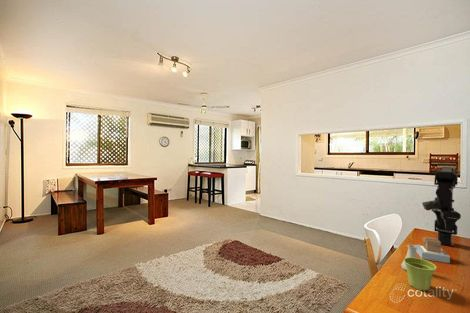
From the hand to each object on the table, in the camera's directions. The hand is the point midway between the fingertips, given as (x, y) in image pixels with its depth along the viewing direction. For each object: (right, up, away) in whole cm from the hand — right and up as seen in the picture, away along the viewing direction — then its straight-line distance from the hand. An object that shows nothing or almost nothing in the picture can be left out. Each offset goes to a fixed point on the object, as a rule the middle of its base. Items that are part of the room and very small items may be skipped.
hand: (443, 227), depth 116 cm
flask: (-29, -12, -17) cm, 36 cm away
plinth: (-10, -12, -5) cm, 17 cm away
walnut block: (-10, -9, -5) cm, 14 cm away
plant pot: (-36, -13, -30) cm, 48 cm away
